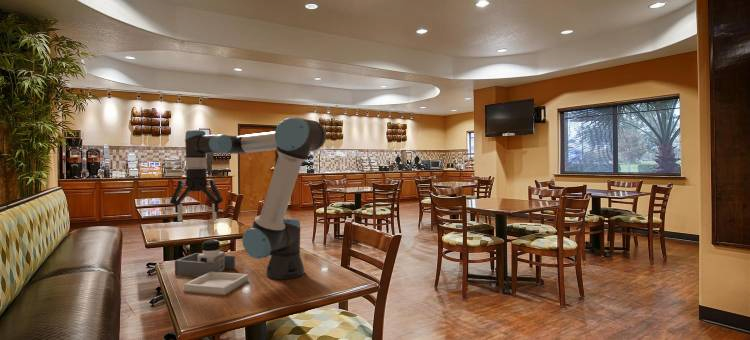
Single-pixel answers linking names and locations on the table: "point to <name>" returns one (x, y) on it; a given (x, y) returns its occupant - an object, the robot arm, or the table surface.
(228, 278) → the tray
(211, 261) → the container
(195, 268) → the bay
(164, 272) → the table surface
